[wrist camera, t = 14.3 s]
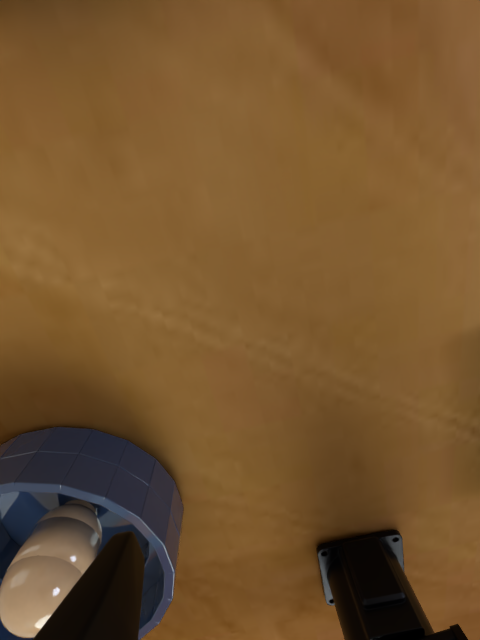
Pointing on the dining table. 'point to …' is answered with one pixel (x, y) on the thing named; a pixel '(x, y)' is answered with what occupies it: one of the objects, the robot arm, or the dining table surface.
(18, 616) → the beige rounded peg
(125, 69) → the dining table surface
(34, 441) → the bowl
